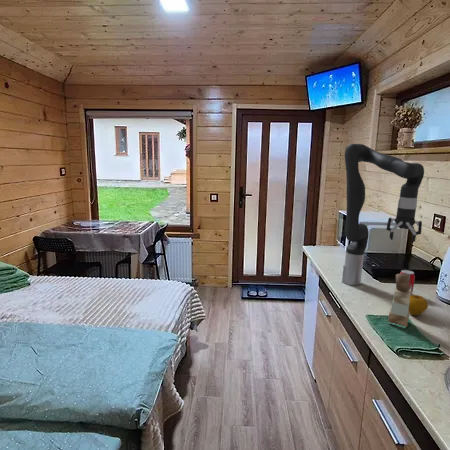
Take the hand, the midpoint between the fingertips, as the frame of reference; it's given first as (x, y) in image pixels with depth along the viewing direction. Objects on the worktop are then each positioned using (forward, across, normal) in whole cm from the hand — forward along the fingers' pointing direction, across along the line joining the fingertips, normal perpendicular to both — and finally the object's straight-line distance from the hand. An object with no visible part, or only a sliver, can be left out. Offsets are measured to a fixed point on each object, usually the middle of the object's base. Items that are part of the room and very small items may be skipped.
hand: (401, 241), depth 153 cm
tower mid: (+25, +4, -24) cm, 35 cm away
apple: (+30, +10, -11) cm, 34 cm away
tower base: (+30, +4, -24) cm, 39 cm away
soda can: (+30, +4, +12) cm, 33 cm away
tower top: (+20, +4, -24) cm, 32 cm away
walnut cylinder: (+15, +4, -24) cm, 29 cm away
